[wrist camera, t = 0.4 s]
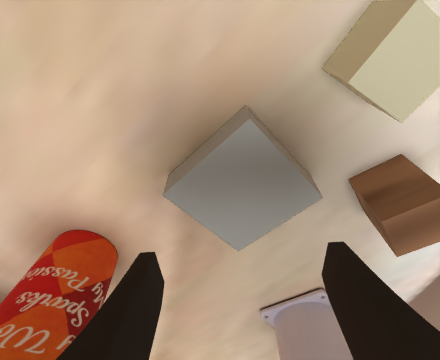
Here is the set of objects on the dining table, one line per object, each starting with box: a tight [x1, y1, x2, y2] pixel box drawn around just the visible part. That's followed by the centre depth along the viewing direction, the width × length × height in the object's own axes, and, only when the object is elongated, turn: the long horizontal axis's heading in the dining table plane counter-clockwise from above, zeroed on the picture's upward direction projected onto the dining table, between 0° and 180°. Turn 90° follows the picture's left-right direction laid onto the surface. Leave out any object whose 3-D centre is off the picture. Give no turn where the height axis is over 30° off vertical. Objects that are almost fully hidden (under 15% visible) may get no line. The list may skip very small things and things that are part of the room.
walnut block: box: [349, 154, 440, 257], centre depth 19 cm, size 4×4×5 cm
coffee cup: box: [0, 230, 118, 360], centre depth 19 cm, size 8×8×15 cm
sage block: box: [322, 0, 440, 123], centre depth 14 cm, size 4×4×4 cm
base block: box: [163, 105, 323, 251], centre depth 19 cm, size 8×8×3 cm
